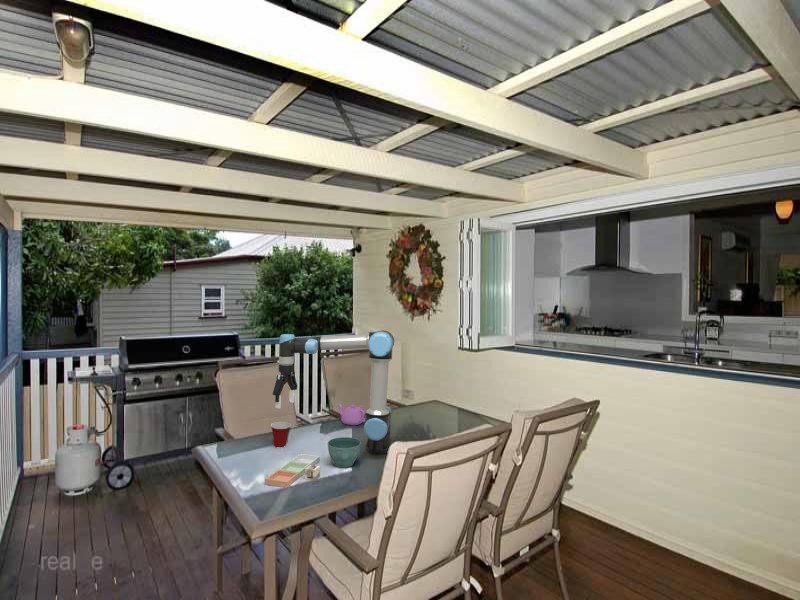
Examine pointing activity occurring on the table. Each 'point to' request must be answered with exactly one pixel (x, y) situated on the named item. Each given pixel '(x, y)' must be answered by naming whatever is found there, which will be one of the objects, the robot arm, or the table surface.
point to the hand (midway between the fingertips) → (285, 405)
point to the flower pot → (344, 451)
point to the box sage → (295, 467)
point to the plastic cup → (280, 433)
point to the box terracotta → (281, 478)
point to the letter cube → (312, 472)
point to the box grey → (306, 459)
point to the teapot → (352, 415)
